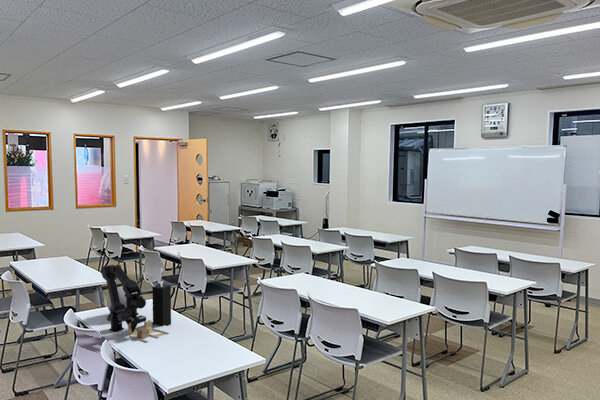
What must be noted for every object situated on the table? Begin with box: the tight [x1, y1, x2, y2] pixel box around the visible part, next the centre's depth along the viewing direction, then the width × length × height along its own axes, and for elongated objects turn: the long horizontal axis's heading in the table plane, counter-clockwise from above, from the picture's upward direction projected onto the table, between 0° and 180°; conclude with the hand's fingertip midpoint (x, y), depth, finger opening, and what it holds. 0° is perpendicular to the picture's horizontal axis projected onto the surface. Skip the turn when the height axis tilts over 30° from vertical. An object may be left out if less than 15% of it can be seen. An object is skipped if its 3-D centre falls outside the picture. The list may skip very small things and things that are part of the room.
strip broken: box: [143, 319, 166, 338], centre depth 263 cm, size 13×5×7 cm, turn 58°
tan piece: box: [127, 323, 149, 340], centre depth 259 cm, size 13×5×7 cm, turn 58°
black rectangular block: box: [151, 280, 172, 327], centre depth 279 cm, size 8×8×28 cm
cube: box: [136, 326, 150, 340], centre depth 257 cm, size 4×4×4 cm
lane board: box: [128, 327, 170, 343], centre depth 260 cm, size 15×16×2 cm
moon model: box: [106, 285, 139, 312], centre depth 296 cm, size 20×20×20 cm
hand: (131, 331), depth 262 cm, fingers closed on tan piece, 2 cm apart
